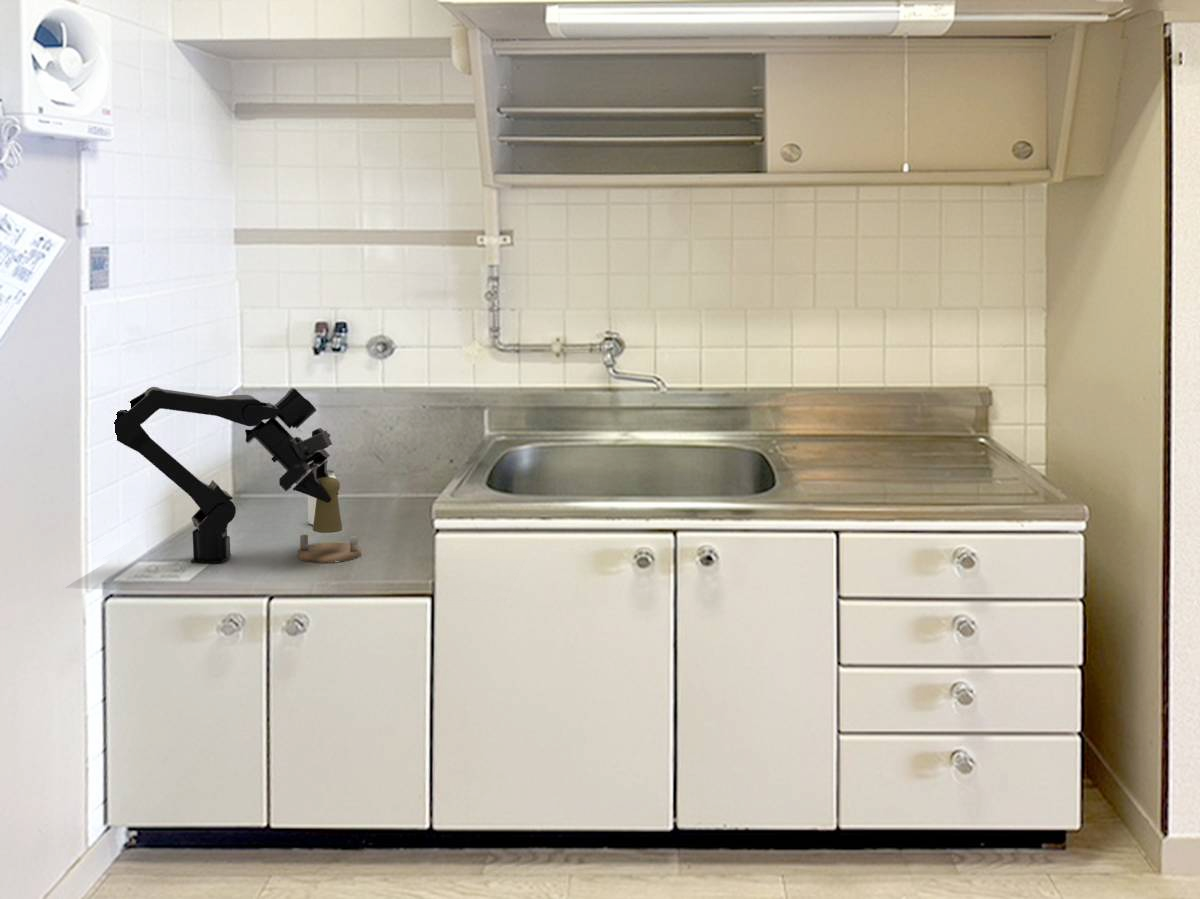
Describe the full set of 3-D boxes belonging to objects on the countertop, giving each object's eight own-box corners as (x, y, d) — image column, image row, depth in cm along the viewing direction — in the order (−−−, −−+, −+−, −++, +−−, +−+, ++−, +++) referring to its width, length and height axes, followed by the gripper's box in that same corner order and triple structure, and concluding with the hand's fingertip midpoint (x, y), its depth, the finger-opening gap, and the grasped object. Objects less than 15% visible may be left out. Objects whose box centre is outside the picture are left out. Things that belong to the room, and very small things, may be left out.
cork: (329, 525, 302) (328, 473, 300) (348, 529, 298) (347, 477, 296) (306, 529, 297) (306, 477, 295) (325, 534, 293) (325, 481, 291)
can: (343, 522, 327) (342, 471, 325) (323, 528, 322) (322, 475, 320) (322, 518, 331) (320, 468, 328) (302, 524, 325) (300, 472, 323)
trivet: (289, 561, 293) (289, 542, 292) (307, 546, 305) (307, 528, 305) (352, 563, 292) (351, 544, 291) (367, 548, 304) (367, 529, 304)
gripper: (293, 425, 284) (348, 481, 286) (319, 411, 303) (371, 464, 304) (255, 462, 286) (310, 518, 288) (283, 446, 305) (335, 499, 306)
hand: (333, 498), depth 296 cm, fingers closed on cork, 5 cm apart
